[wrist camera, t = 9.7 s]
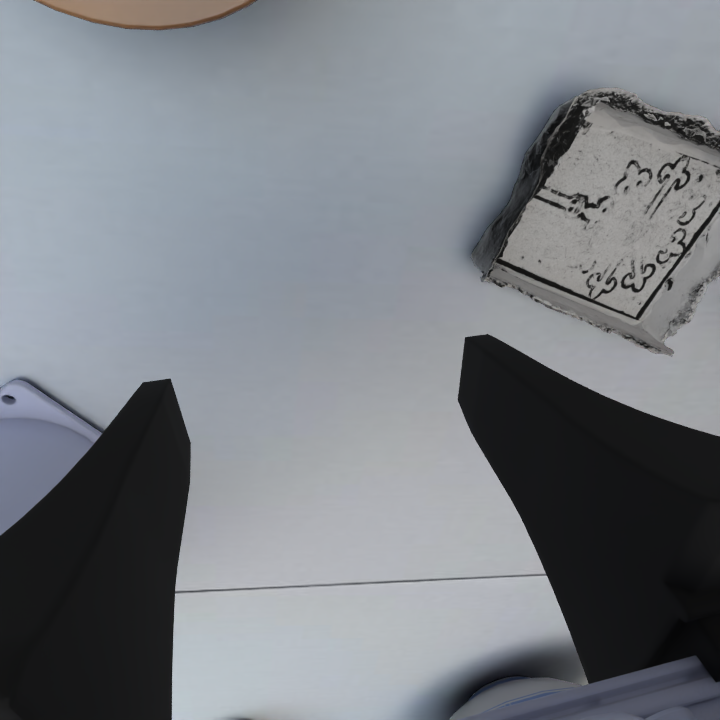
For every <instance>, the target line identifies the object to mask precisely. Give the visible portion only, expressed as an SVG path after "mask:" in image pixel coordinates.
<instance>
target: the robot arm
mask: <svg viewBox="0 0 720 720" xmlns="http://www.w3.org/2000/svg"><path fill="white" fill-rule="evenodd" d="M6 395H10V396H13V397H14V398H15V399H10V398H8V397H7V396H6ZM458 402H459V404H460V407H461V409H462V412H463V414H464V417H465V419H466V421H467V424H468V426H469V428H470V431H471V433H472V434H473V436H474V438H475V440H476V441H477V443H478V445H479V447H480V448H481V450H482V452H483V453H484V455H485V457H486V458H487V460H488V462H489V463H490V465H491V467H492V468H493V470H494V472H495V473H496V475H497V477H498V478H499V480H500V482H501V483H502V485H503V487H504V488H505V490H506V492H507V493H508V495H509V497H510V498H511V500H512V502H513V504H514V506H515V507H516V509H517V511H518V513H519V515H520V517H521V519H522V521H523V523H524V525H525V527H526V529H527V532H528V534H529V536H530V538H531V540H532V542H533V545H534V547H535V549H536V551H537V553H538V556H539V558H540V560H541V563H542V565H543V567H544V570H545V572H546V574H547V577H548V579H549V581H550V584H551V586H552V588H553V591H554V593H555V596H556V598H557V601H558V603H559V606H560V608H561V611H562V613H563V616H564V618H565V621H566V623H567V626H568V628H569V631H570V634H571V636H572V639H573V642H574V644H575V647H576V650H577V653H578V655H579V658H580V661H581V664H582V666H583V669H584V672H585V675H586V677H587V680H588V683H589V684H587V685H584V686H580V687H576V688H573V689H569V690H565V691H562V692H558V693H554V694H550V695H547V696H543V697H539V698H536V699H532V700H528V701H524V702H521V703H517V704H513V705H510V706H506V707H502V708H499V709H495V710H491V711H487V712H484V713H480V714H476V715H473V716H469V717H465V718H461V719H458V720H720V437H719V436H715V435H712V434H708V433H705V432H702V431H698V430H695V429H691V428H688V427H685V426H682V425H679V424H676V423H673V422H670V421H667V420H664V419H661V418H658V417H655V416H653V415H650V414H647V413H644V412H642V411H639V410H637V409H634V408H632V407H629V406H627V405H624V404H622V403H620V402H617V401H615V400H612V399H610V398H608V397H605V396H603V395H601V394H599V393H597V392H595V391H593V390H591V389H588V388H586V387H584V386H582V385H580V384H578V383H576V382H574V381H572V380H570V379H568V378H567V377H565V376H563V375H561V374H559V373H557V372H555V371H553V370H552V369H550V368H548V367H546V366H544V365H543V364H541V363H539V362H537V361H536V360H534V359H532V358H530V357H529V356H527V355H525V354H523V353H522V352H520V351H518V350H516V349H515V348H513V347H511V346H509V345H508V344H506V343H504V342H502V341H500V340H498V339H497V338H495V337H493V336H490V335H488V334H486V335H479V336H472V337H465V343H464V352H463V360H462V369H461V377H460V386H459V394H458ZM190 458H191V443H190V440H189V436H188V433H187V430H186V427H185V424H184V420H183V417H182V414H181V411H180V407H179V404H178V401H177V398H176V395H175V391H174V388H173V385H172V382H171V379H164V380H157V381H150V382H143V383H142V384H141V386H140V387H139V388H138V389H137V390H136V392H135V393H134V394H133V395H132V397H131V398H130V399H129V401H128V402H127V403H126V404H125V406H124V407H123V408H122V410H121V411H120V412H119V413H118V415H117V416H116V417H115V419H114V420H113V421H112V422H111V424H110V425H109V426H108V427H107V429H106V430H105V431H104V432H103V433H101V432H100V431H98V430H97V429H95V428H94V427H92V426H91V425H89V424H88V423H86V422H85V421H83V420H82V419H80V418H79V417H77V416H76V415H74V414H73V413H71V412H70V411H69V410H67V409H66V408H64V407H63V406H61V405H60V404H58V403H57V402H55V401H54V400H52V399H51V398H49V397H48V396H46V395H45V394H43V393H42V392H40V391H39V390H38V389H36V388H35V387H33V386H32V385H30V384H29V383H27V382H25V381H21V380H13V381H11V382H9V383H7V384H6V385H5V386H3V387H2V388H0V720H172V658H173V625H174V602H175V584H176V575H177V566H178V560H179V553H180V546H181V540H182V533H183V527H184V520H185V513H186V506H187V500H188V493H189V485H190Z"/></svg>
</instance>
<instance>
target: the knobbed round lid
mask: <svg viewBox="0 0 720 720" xmlns="http://www.w3.org/2000/svg"><path fill="white" fill-rule="evenodd" d="M34 1H36V2H39V3H41V4H43V5H45V6H47V7H49V8H52V9H54V10H56V11H59V12H62V13H65V14H68V15H71V16H74V17H77V18H80V19H83V20H87V21H90V22H93V23H98V24H103V25H109V26H114V27H119V28H125V29H140V30H168V29H177V28H187V27H194V26H198V25H201V24H205V23H209V22H212V21H216V20H220V19H222V18H225V17H227V16H229V15H231V14H233V13H235V12H238V11H240V10H242V9H244V8H246V7H248V6H250V5H251V4H253V3H254V2H256V1H257V0H34Z"/></svg>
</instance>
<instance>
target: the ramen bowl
mask: <svg viewBox="0 0 720 720" xmlns="http://www.w3.org/2000/svg"><path fill="white" fill-rule="evenodd" d="M580 686H582V685H579V684H575V683H572V682H568V681H564V680H559V679H554V678H528V677H522V676H513V677H506V678H503V679H500V680H497V681H494V682H492V683H489V684H487V685H485V686H483V687H482V688H480V689H479V690H478V691H476V692H475V693H474V694H473V695H472V696H471V697H470V698H469V700H468V702H467V703H466V704H464V705H463V706H462V707H461V708H460V709H459V710H458V711H456V712H455V713H454V714H453V716H452V717H451V718H450V719H449V720H458V719H461V718H465V717H469V716H473V715H476V714H480V713H484V712H487V711H491V710H495V709H499V708H502V707H506V706H510V705H513V704H517V703H521V702H524V701H528V700H532V699H536V698H539V697H543V696H547V695H550V694H554V693H558V692H562V691H565V690H569V689H573V688H576V687H580Z"/></svg>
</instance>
